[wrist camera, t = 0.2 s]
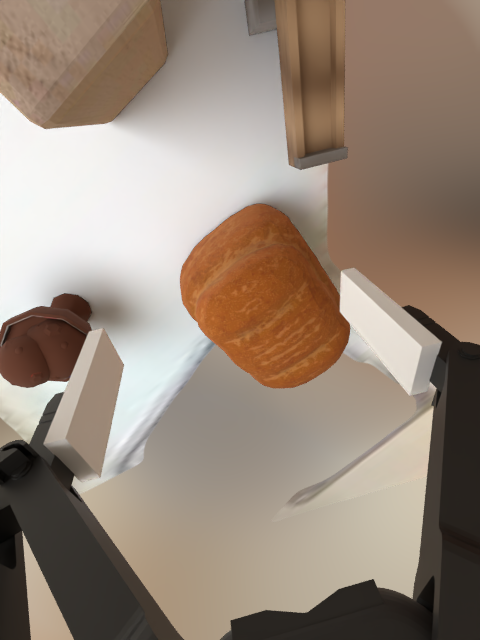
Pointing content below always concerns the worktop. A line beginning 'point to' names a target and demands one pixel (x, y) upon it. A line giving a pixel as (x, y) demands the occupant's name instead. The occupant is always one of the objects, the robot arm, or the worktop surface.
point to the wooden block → (78, 57)
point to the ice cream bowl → (44, 342)
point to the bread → (265, 298)
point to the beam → (308, 73)
